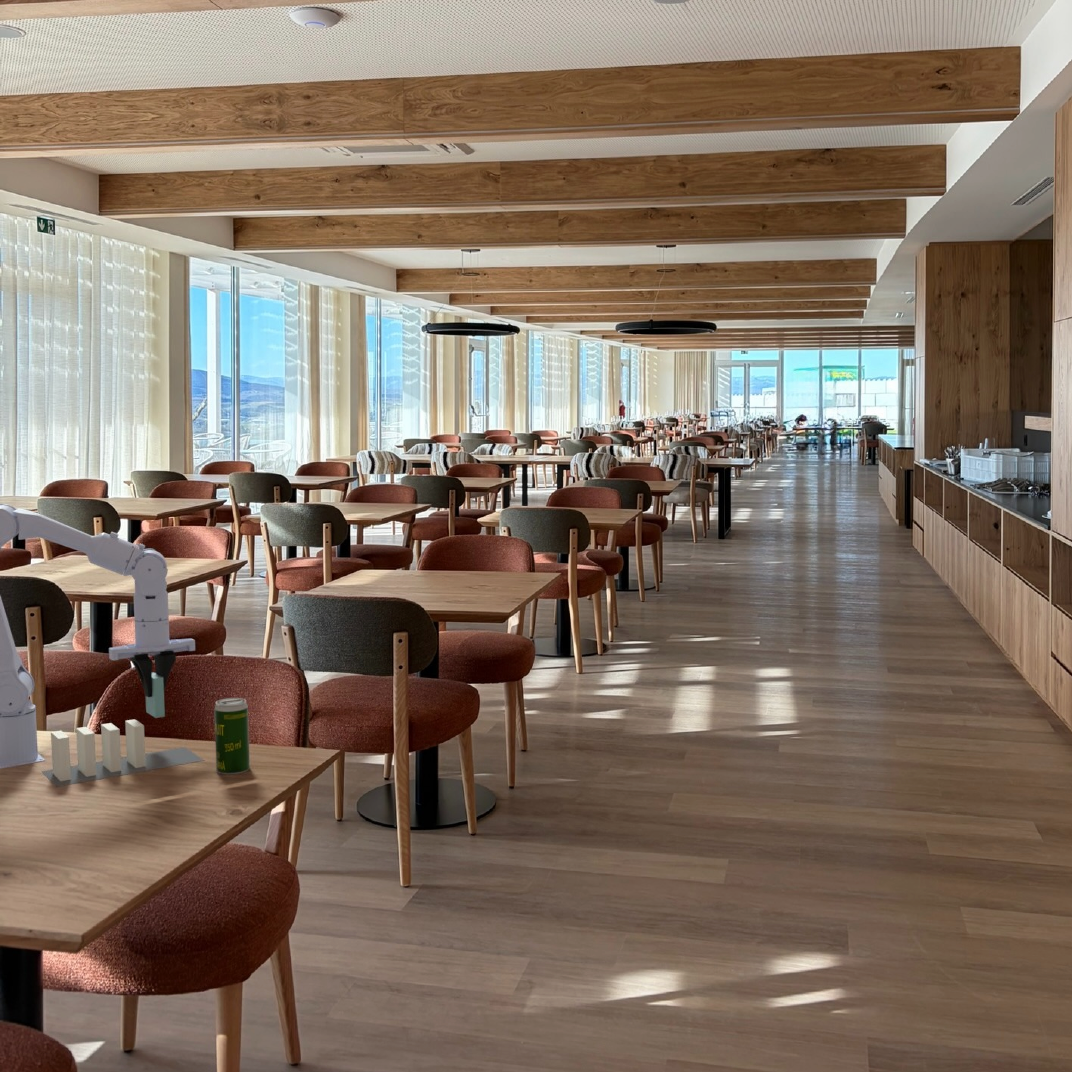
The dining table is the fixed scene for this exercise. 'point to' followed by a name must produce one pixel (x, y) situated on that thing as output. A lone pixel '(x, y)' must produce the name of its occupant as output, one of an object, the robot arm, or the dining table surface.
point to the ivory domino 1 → (60, 755)
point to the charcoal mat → (129, 766)
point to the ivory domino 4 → (135, 743)
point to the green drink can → (232, 736)
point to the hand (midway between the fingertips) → (154, 695)
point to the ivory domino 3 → (111, 747)
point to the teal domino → (156, 697)
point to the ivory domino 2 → (86, 751)
